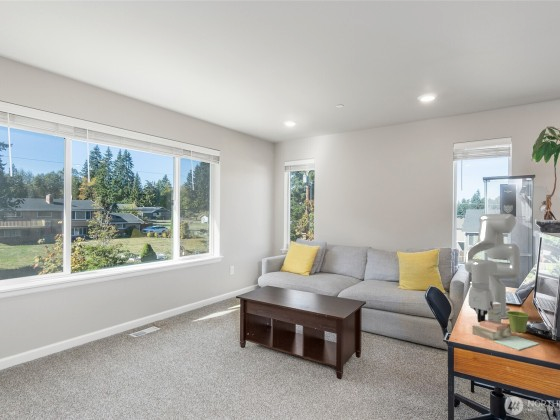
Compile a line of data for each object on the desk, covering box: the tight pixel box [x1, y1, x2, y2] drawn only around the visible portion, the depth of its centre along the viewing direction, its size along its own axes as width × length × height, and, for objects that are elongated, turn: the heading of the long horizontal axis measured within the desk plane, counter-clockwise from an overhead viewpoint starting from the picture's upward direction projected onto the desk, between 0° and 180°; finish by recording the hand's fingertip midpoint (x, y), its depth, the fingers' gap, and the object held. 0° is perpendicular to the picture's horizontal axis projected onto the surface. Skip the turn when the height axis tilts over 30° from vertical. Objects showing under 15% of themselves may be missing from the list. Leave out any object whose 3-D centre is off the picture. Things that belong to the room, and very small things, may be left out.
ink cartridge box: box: [485, 296, 502, 323], centre depth 167 cm, size 9×5×15 cm, turn 102°
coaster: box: [479, 320, 508, 331], centre depth 151 cm, size 8×8×2 cm
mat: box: [492, 335, 540, 351], centre depth 142 cm, size 16×10×1 cm, turn 114°
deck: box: [471, 323, 513, 342], centre depth 152 cm, size 14×10×4 cm
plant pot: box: [506, 310, 530, 333], centre depth 157 cm, size 9×9×9 cm
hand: (481, 322), depth 156 cm, fingers closed
